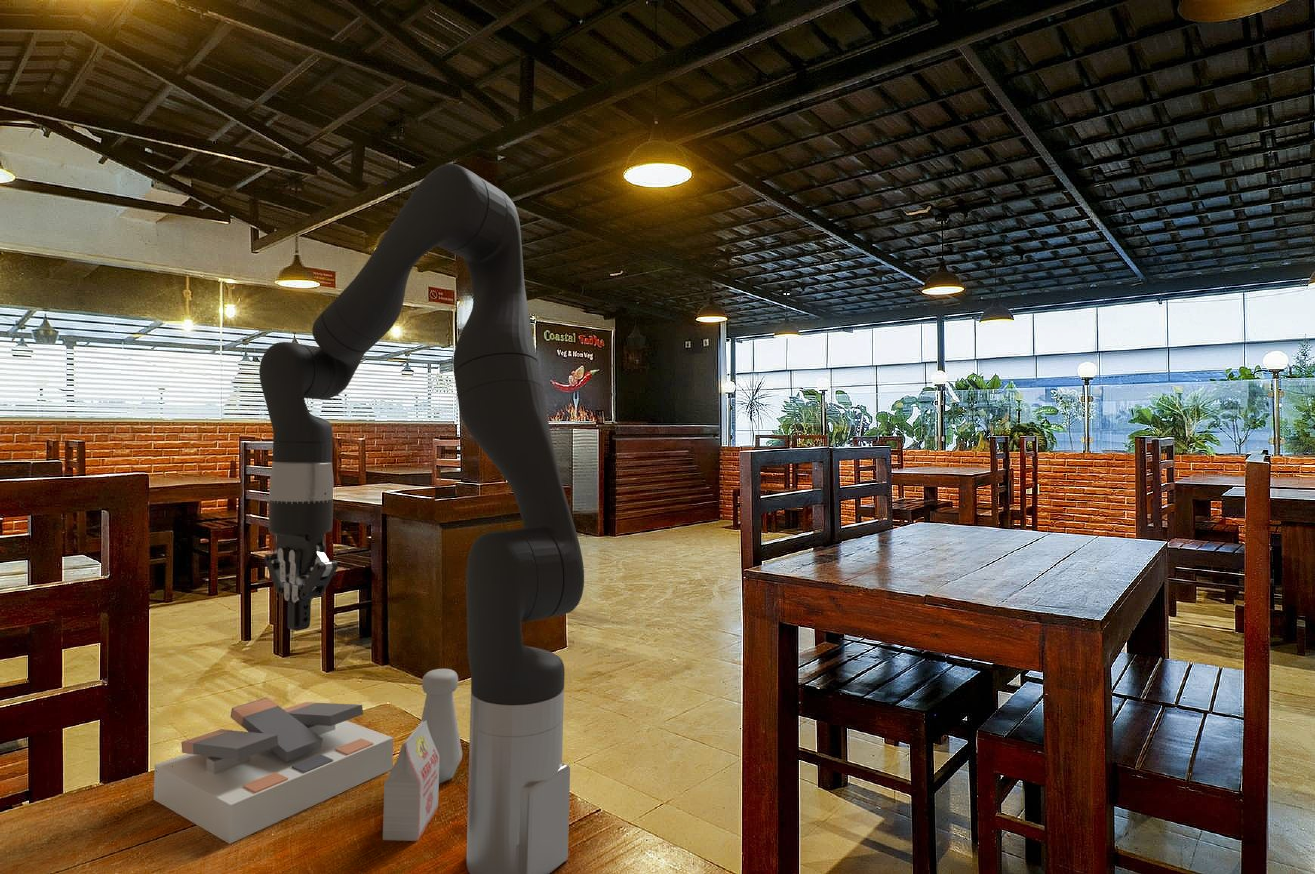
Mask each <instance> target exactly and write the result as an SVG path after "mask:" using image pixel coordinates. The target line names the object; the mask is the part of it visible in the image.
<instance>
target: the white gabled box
mask: <svg viewBox="0 0 1315 874" xmlns="http://www.w3.org/2000/svg"><path fill="white" fill-rule="evenodd" d="M393 764H394V765H393V768H392V770H390V772H389V774H388V776H387V778H386V779H385V781H384V783H383V784H384V785H383V787H384V789H383V791H384V792H383V817H382V818H383V820H382V821H383V824H382V840H383V841H407V842H409V841H411V842H413V841H414V842H417V841H419V840H420V838H421V836H423V833H424V831H425V830H426V828H427V827H428V825H429V823H430V822H431V820H432V819H433V817H434V815H435V814H436V812H437V810H438V809H439V792H440V791H439V785H440V783H439V754H438V751H437V749H436V747H435V744H434V742H433V740H432V738H431V735H430V732H429V729H428V726H427V720H426V721H424V722H423V721H422V722H421V721H420V723H419V724H418V725H417V726H416V728H415V729H414V730H413V731H412V732H411V734H410V735H409V736H408V737H407V739H405V741H404V742H403V743H402V744H401V747H400V751H399V753H398V756H397V758H396V761H395V762H394V763H393Z"/></svg>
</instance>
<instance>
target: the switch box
mask: <svg viewBox="0 0 1315 874" xmlns="http://www.w3.org/2000/svg"><path fill="white" fill-rule="evenodd" d="M303 725H305V726H306V727H307V728H309V729H310V730H311V731H313V732H314V733H315V734H317V735H318V736H319V737H321V738H322V739H323V740H322V746H321V748H320V749H318V750H315V751H312V752H310V753H307V754H305V755H302V756H300V757H297V758H294V759H292V760H289V761H287V762H285V761H284V760H283V759H281V758H280V757H279V756H278V755H277V754H275V753H274V752H273V751H272V750H270V749H268V750H265V751H262V752H260V753H257V754H254V755H251V756H249V757H246V758H243V759H240V760H233V759H226V758H218V757H211V756H204V755H196V754H187V753H184V754H183V755H179V756H177V757H174V758H170V759H168V760H165V761H161V762H158V763H156V764H154V774H153V775H154V776H153V777H154V779H153V800H154V801H155V802H157V803H159V804H160V805H163V806H164V807H166V808H167V809H169V810H171V811H172V812H174V813H176V814H177V815H179V816H181V817H183V818H184V819H186V820H188V821H190V822H191V823H193V824H194V825H196V826H197V827H200V828H202V829H203V830H205V831H207V832H208V833H210V834H212V835H214V836H215V837H217V838H219V839H220V840H222V841H224V842H226V843H227V844H228V845H229V844H232V843H233V844H234V843H235V842H237V841H239V840H241V839H244V838H247V837H248V836H250V835H253V834H255V833H256V832H259V831H261V830H263V829H266V828H268V827H270V826H272V825H274V824H277V823H278V822H279V823H280V821H283V820H284V819H287V818H290V817H292V816H295V815H296V814H298V813H300V812H303V811H305V810H307V809H308V808H311V807H313V806H315V805H318V804H321V803H322V802H324V801H327V800H329V799H331V798H333V797H335V796H337V795H340V794H341V793H343V792H346V791H348V790H351V789H352V788H355V787H357V786H358V785H361V784H364V783H365V782H367V781H370V780H373V779H374V778H377V777H379V776H381V775H384V774H386V773H387V772H389V771H390V772H391V770H392V768H393V766H394V765H393V764H394V763H393V762H394V759H393V758H394V737H393V736H389V735H387V734H384V733H381V732H378V731H375V730H373V729H371V728H369V727H368V728H367V727H365V726H362V725H359V724H357V723H354V722H352V721H349V720H346V721H344V722H341V723H338V724H336V725H333V726H324V725H310V724H303ZM172 766H173V767H172ZM156 771H157V772H156Z"/></svg>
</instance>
